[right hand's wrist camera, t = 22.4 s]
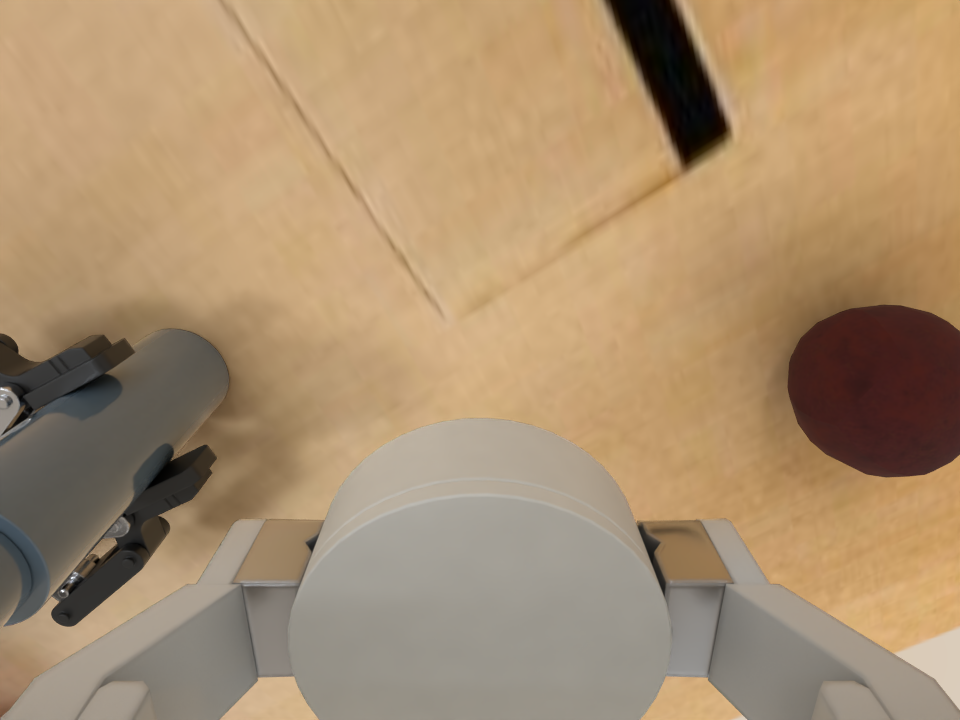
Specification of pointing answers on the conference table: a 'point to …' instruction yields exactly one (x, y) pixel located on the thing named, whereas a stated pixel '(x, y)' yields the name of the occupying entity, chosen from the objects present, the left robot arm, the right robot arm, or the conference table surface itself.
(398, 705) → the lid
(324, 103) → the conference table surface
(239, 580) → the right robot arm
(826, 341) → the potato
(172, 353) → the bottle
